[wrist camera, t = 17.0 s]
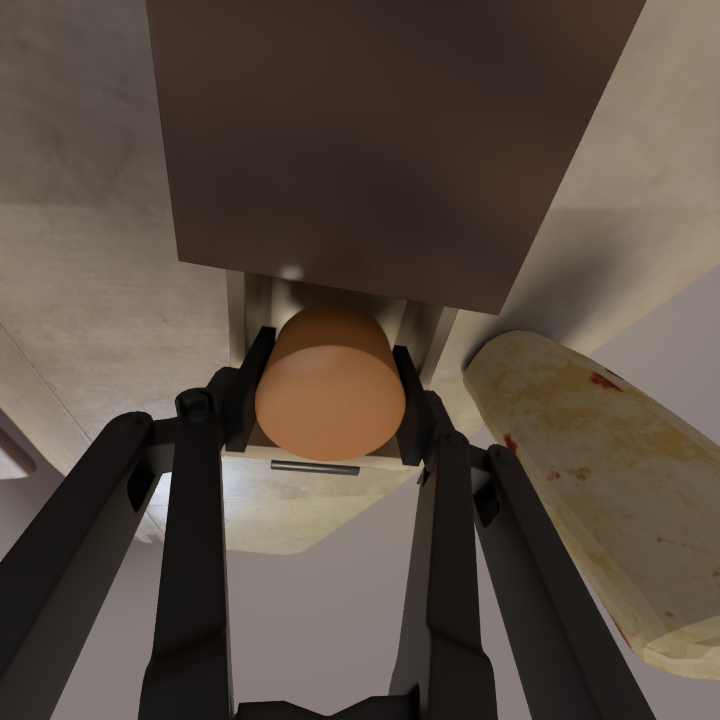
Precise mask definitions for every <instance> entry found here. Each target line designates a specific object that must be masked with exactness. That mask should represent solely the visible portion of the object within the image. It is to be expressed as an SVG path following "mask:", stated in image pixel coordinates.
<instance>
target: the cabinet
mask: <svg viewBox="0 0 720 720" xmlns="http://www.w3.org/2000/svg"><path fill="white" fill-rule="evenodd" d="M145 1H146V9H147V16H148V24H149V32H150V40H151V48H152V56H153V63H154V71H155V79H156V87H157V95H158V102H159V110H160V118H161V126H162V134H163V141H164V149H165V157H166V165H167V173H168V181H169V188H170V196H171V204H172V212H173V220H174V227H175V235H176V243H177V251H178V259H179V261H181V262H187V263H193V264H198V265H204V266H210V267H216V268H222V269H228V270H234V271H240V272H245V273H251V274H257V275H263V276H269V277H275V278H281V279H287V280H293V281H298V282H304V283H310V284H316V285H322V286H328V287H334V288H340V289H345V290H351V291H357V292H363V293H369V294H375V295H381V296H387V297H393V298H398V299H404V300H410V301H416V302H422V303H428V304H434V305H440V306H446V307H451V308H457V309H463V310H469V311H475V312H481V313H487V314H493V315H499V313H500V311H501V309H502V307H503V305H504V303H505V301H506V298H507V296H508V294H509V292H510V290H511V288H512V286H513V284H514V281H515V279H516V277H517V275H518V273H519V271H520V269H521V266H522V264H523V262H524V260H525V258H526V256H527V254H528V252H529V249H530V247H531V245H532V243H533V241H534V239H535V237H536V235H537V232H538V230H539V228H540V226H541V224H542V222H543V220H544V217H545V215H546V213H547V211H548V209H549V207H550V205H551V203H552V200H553V198H554V196H555V194H556V192H557V190H558V188H559V186H560V183H561V181H562V179H563V177H564V175H565V173H566V171H567V169H568V166H569V164H570V162H571V160H572V158H573V156H574V154H575V151H576V149H577V147H578V145H579V143H580V141H581V139H582V137H583V134H584V132H585V130H586V128H587V126H588V124H589V122H590V120H591V117H592V115H593V113H594V111H595V109H596V107H597V105H598V102H599V100H600V98H601V96H602V94H603V92H604V90H605V88H606V85H607V83H608V81H609V79H610V77H611V75H612V73H613V71H614V68H615V66H616V64H617V62H618V60H619V58H620V56H621V54H622V51H623V49H624V47H625V45H626V43H627V41H628V39H629V36H630V34H631V32H632V30H633V28H634V26H635V24H636V22H637V19H638V17H639V15H640V13H641V11H642V9H643V7H644V5H645V2H646V0H145Z"/></svg>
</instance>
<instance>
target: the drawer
mask: <svg viewBox="0 0 720 720" xmlns="http://www.w3.org/2000/svg"><path fill="white" fill-rule="evenodd" d="M226 272H227V294H228V315H229V337H230V358H231V367H233V368H240V366H241V364H242V363H243V361H244V359H245V357H246V355H247V353H248V351H249V350H250V348H251V346H252V344H253V342H254V340H255V338H256V337H257V335H258V333H259V331H260V329H261V327H262V326H267V327H274V328H276V339H277V337H278V335H279V332H280V330H281V329H282V327H283V326H284V324H285V323H286V322H287V321H288V320H289V319H290V318H291V317H292V316H294V315H295V314H296V313H298V312H299V311H301V310H303V309H305V308H307V307H310V306H313V305H317V304H322V303H342V304H346V305H351V306H353V307H356V308H359V309H361V310H363V311H364V312H366V313H368V314H369V315H370V316H372V317H373V318H374V319H375V320H376V321H377V322H378V323H379V324H380V326H381V327H382V328H383V330H384V332H385V334H386V336H387V338H388V341H389V344H390V348H391V351H393V348H394V345H400V346H406V347H407V349H408V352H409V354H410V356H411V359H412V361H413V364H414V366H415V369H416V371H417V374H418V376H419V379H420V381H421V384H422V386H423V388H424V390H427V389H428V387H429V384H430V382H431V379H432V376H433V374H434V371H435V369H436V366H437V364H438V361H439V358H440V356H441V353H442V351H443V348H444V346H445V343H446V340H447V338H448V335H449V333H450V330H451V328H452V325H453V322H454V320H455V317H456V315H457V312H458V310H459V309H457V308H451V307H446V306H440V305H434V304H428V303H422V302H416V301H410V300H404V299H398V298H393V297H387V296H381V295H375V294H369V293H363V292H357V291H351V290H345V289H340V288H334V287H328V286H322V285H316V284H310V283H304V282H298V281H293V280H287V279H281V278H275V277H269V276H263V275H257V274H251V273H245V272H240V271H234V270H228V269H226ZM275 342H276V341H275ZM221 456H231V457H244V458H257V459H269V460H272V461H271V469H274V470H287V471H301V472H314V473H328V474H341V475H354V476H357V475H358V474H359V470H360V467H370V468H383V469H396V470H409V468H410V466H406V465H403V464H402V460H401V455H400V451H399V446H398V442H397V437H396V433H395V434H394V435H393V436H392V437H391V438H390V439H389V440H388V441H387V442H386V443H385V444H383V445H382V446H381V447H379V448H378V449H376V450H374V451H372V452H370V453H368V454H366V455H364V456H361V457H358V458H354V459H350V460H344V461H333V462H328V461H316V460H310V459H306V458H302V457H299V456H296V455H294V454H292V453H289V452H287V451H286V450H284V449H282V448H281V447H279V446H278V445H276V444H275V443H274V442H273V441H272V440H271V439H270V438H269V437H268V436H267V435H266V434H265V433H264V431H263V430H262V428H261V427H260V425H259V422H258V420H257V418H256V421H255V424H254V427H253V430H252V432H251V435H250V438H249V441H248V444H247V447H246V449H245V452H244V453H240V452H227V451H225V444H224V446H223V448H222V450H221Z"/></svg>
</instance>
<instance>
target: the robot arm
mask: <svg viewBox="0 0 720 720" xmlns="http://www.w3.org/2000/svg"><path fill="white" fill-rule="evenodd" d="M275 341H276V328H274V327H267V326H262V327H261V329H260V331H259V333H258V335H257V337H256V338H255V340H254V342H253V344H252V346H251V348H250V350H249V351H248V353H247V355H246V357H245V359H244V361H243V363H242V364H241V366H240V368H233V367H223V368H221V369H220V370H218V371H217V372H215V374H214V376H213V377H212V379H211V380H210V382H209V383H208V386H206V388H192V389H188V390H186V391H183V392H181V393H180V394H179V395H178V396H177V397H176V399H175V405H176V411H177V416H178V417H174V418H169V419H161V420H153V419H152V417H151V415H149V414H148V413H146V412H140V411H136V412H128V413H125V414H121V415H119V416H117V417H115V418H113V419H112V420H111V421H110V422H109V423H108V424H107V425H106V426H105V427H104V429H103V430H102V431H101V433H100V434H99V435H98V436H97V438H96V439H95V440H94V442H93V443H92V444H91V446H90V447H89V448H88V449H87V451H86V452H85V453H84V455H83V456H82V457H81V458H80V460H79V461H78V462H77V464H76V465H75V466H74V468H73V469H72V470H71V471H70V473H69V474H68V475H67V477H66V478H65V479H64V481H63V482H62V483H61V485H60V486H59V487H58V488H57V490H56V491H55V492H54V494H53V495H52V496H51V498H50V499H49V500H48V501H47V503H46V504H45V505H44V507H43V508H42V509H41V510H40V512H39V513H38V514H37V516H36V517H35V518H34V519H33V521H32V522H31V523H30V525H29V526H28V527H27V528H26V530H25V531H24V532H23V534H22V535H21V536H20V538H19V539H18V540H17V541H16V543H15V544H14V545H13V547H12V548H11V549H10V551H9V552H8V553H7V554H6V556H5V557H4V558H3V560H2V561H1V562H0V720H50V718H51V715H52V713H53V711H54V709H55V707H56V705H57V703H58V700H59V698H60V696H61V694H62V691H63V689H64V687H65V685H66V683H67V681H68V678H69V676H70V674H71V672H72V670H73V668H74V666H75V663H76V661H77V659H78V657H79V655H80V652H81V650H82V648H83V646H84V643H85V642H86V639H87V637H88V635H89V633H90V631H91V628H92V626H93V624H94V622H95V620H96V617H97V615H98V613H99V611H100V609H101V607H102V604H103V602H104V600H105V598H106V596H107V593H108V591H109V589H110V587H111V585H112V583H113V580H114V578H115V576H116V574H117V572H118V569H119V567H120V565H121V563H122V561H123V559H124V557H125V554H126V552H127V550H128V548H129V545H130V543H131V541H132V539H133V537H134V535H135V533H136V530H137V528H138V526H139V524H140V522H141V519H142V517H143V515H144V513H145V511H146V509H147V506H148V504H149V502H150V500H151V498H152V495H153V493H154V491H155V489H156V487H157V485H158V482H159V480H160V478H161V476H162V474H163V473H168V472H172V476H171V485H170V495H169V504H168V513H167V522H166V531H165V541H164V551H163V559H162V568H161V577H160V587H159V596H158V605H157V614H156V624H155V633H154V642H153V650H152V655H151V659H150V662H149V664H148V666H147V668H146V671H145V675H144V679H143V684H142V691H141V697H140V706H139V714H138V720H498V715H497V702H496V691H495V680H494V673H493V668H492V665H491V662H490V659H489V658H488V656H487V655H486V654H485V653H484V652H483V649H482V645H481V634H480V617H479V598H478V581H477V564H476V547H475V529H474V522H475V526H476V529H477V533H478V536H479V540H480V543H481V546H482V550H483V553H484V557H485V560H486V564H487V567H488V570H489V574H490V577H491V581H492V584H493V587H494V591H495V594H496V598H497V601H498V605H499V608H500V611H501V615H502V618H503V622H504V625H505V629H506V632H507V635H508V639H509V642H510V646H511V649H512V652H513V656H514V659H515V662H516V666H517V670H518V673H519V676H520V680H521V683H522V687H523V690H524V694H525V697H526V700H527V704H528V707H529V711H530V714H531V717H532V720H656V718H655V716H654V714H653V712H652V711H651V709H650V707H649V705H648V703H647V701H646V699H645V697H644V695H643V694H642V692H641V690H640V688H639V686H638V684H637V682H636V680H635V678H634V676H633V675H632V673H631V671H630V669H629V667H628V665H627V664H626V662H625V659H624V658H623V656H622V654H621V652H620V650H619V648H618V646H617V644H616V642H615V640H614V639H613V637H612V635H611V633H610V631H609V629H608V627H607V625H606V623H605V621H604V620H603V618H602V616H601V614H600V612H599V610H598V609H597V606H596V604H595V603H594V601H593V599H592V597H591V595H590V593H589V591H588V589H587V587H586V585H585V584H584V582H583V580H582V578H581V576H580V574H579V572H578V570H577V568H576V567H575V565H574V563H573V561H572V559H571V557H570V555H569V553H568V551H567V549H566V547H565V546H564V544H563V542H562V540H561V538H560V536H559V534H558V532H557V530H556V529H555V527H554V525H553V523H552V521H551V519H550V517H549V515H548V513H547V511H546V510H545V508H544V506H543V504H542V502H541V500H540V498H539V496H538V494H537V492H536V491H535V489H534V487H533V485H532V483H531V481H530V479H529V477H528V475H527V474H526V472H525V470H524V468H523V466H522V464H521V462H520V460H519V459H518V457H517V456H516V454H515V453H513V452H512V451H511V450H510V449H508V448H506V447H505V446H502V445H499V444H493V445H491V446H489V448H488V450H484V449H481V448H478V447H476V446H473V445H470V444H469V441H468V439H467V438H466V437H465V436H464V435H463V434H462V433H460V432H459V431H457V430H455V428H454V426H453V424H452V422H451V420H450V418H449V416H448V413H447V412H446V409H445V407H444V406H443V403H442V401H441V398H440V397H439V396H438V395H437V394H436V393H435V392H434V391H429V390H424V388H423V386H422V384H421V381H420V379H419V376H418V374H417V371H416V369H415V366H414V364H413V361H412V359H411V356H410V354H409V352H408V349H407V347H406V346H400V345H394V348H393V351H392V354H393V357H394V360H395V363H396V366H397V370H398V373H399V376H400V379H401V382H402V385H403V388H404V393H405V399H406V407H405V413H404V416H403V418H402V421H401V424H400V426H399V428H398V429H397V431H396V432H395V433H396V437H397V442H398V446H399V451H400V455H401V460H402V464H403V465H406V466H419V464H420V462H421V460H422V459H423V462H424V465H425V466H424V468H423V471H422V473H421V475H420V478H419V479H418V482H417V484H419V483H420V489H419V497H418V504H417V512H416V519H415V527H414V535H413V543H412V550H411V558H410V566H409V574H408V581H407V589H406V597H405V604H404V611H403V620H402V627H401V634H400V643H399V650H398V656H397V661H396V664H395V668H394V671H393V674H392V679H391V683H390V688H389V694H388V696H372V697H369V698H367V699H365V700H363V701H361V702H359V703H357V704H354V705H352V706H350V707H348V708H346V709H344V710H342V711H340V712H338V713H336V714H334V715H331V716H324V715H321V714H318V713H315V712H313V711H310V710H308V709H305V708H302V707H299V706H297V705H294V704H291V703H289V702H286V701H269V702H268V701H267V702H246V703H239V706H238V711H237V713H236V714H234V700H233V681H232V666H231V648H230V627H229V605H228V586H227V564H226V543H225V523H224V502H223V481H222V461H221V450H222V448H223V446H224V444H225V451H227V452H240V453H244V452H245V449H246V447H247V444H248V441H249V438H250V435H251V432H252V430H253V427H254V424H255V421H256V418H257V417H256V414H255V392H256V388H257V385H258V383H259V381H260V378H261V376H262V373H263V371H264V368H265V366H266V364H267V361H268V359H269V356H270V354H271V351H272V349H273V347H274V344H275Z"/></svg>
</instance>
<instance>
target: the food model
mask: <svg viewBox="0 0 720 720" xmlns="http://www.w3.org/2000/svg"><path fill="white" fill-rule="evenodd" d="M463 383H464V386H465V388H466V390H467V391H468V392H469V394H470V395H471V397H472V399H473V400H474V402H475V404H476V406H477V408H478V410H479V412H480V415H481V417H482V419H483V421H484V423H485V425H486V426H487V428H488V429H489V431H490V433H491V435H492V436H493V438H494V439H495V441H496V442H497V443H498V444H499V445H502V446H505V447H506V448H508V449H510V450H511V451H512V452H513V453H515V454H516V456H517V457H518V459H519V460H520V462H521V464H522V466H523V468H524V470H525V472H526V474H527V475H528V477H529V479H530V481H531V483H532V485H533V487H534V489H535V491H536V492H537V494H538V496H539V498H540V500H541V502H542V504H543V506H544V508H545V510H546V511H547V513H548V515H549V517H550V519H551V521H552V523H553V525H554V527H555V529H556V530H557V532H558V534H559V536H560V538H561V540H562V542H563V544H564V546H565V547H566V549H567V551H568V553H569V555H570V557H571V558H572V559H573V560H574V562H575V563H576V565H577V566H578V568H579V569H580V570H581V572H582V573H583V575H584V576H585V578H586V579H587V580H588V582H589V583H590V585H591V586H592V587H593V589H594V590H595V592H596V594H597V595H598V597H599V598H600V600H601V602H602V603H603V605H604V606H605V608H606V610H607V611H608V613H609V615H610V616H611V618H612V620H613V621H614V623H615V625H616V626H617V628H618V630H619V632H620V633H621V635H622V637H623V638H624V640H625V641H626V643H627V644H628V646H629V647H630V649H631V650H632V652H633V653H635V654H636V655H637V656H638V657H639V658H641V659H642V660H643V661H644V662H646V663H648V664H650V665H652V666H654V667H656V668H659V669H662V670H664V671H667V672H670V673H673V674H678V675H681V676H685V677H688V678H693V679H713V680H720V446H718V445H717V444H716V443H714V442H713V441H712V440H710V439H709V438H707V437H706V436H705V435H703V434H702V433H701V432H699V431H698V430H697V429H695V428H694V427H692V426H691V425H690V424H688V423H686V422H685V421H684V420H683V419H681V418H680V417H678V416H677V415H675V414H674V413H673V412H671V411H670V410H668V409H667V408H665V407H664V406H662V405H661V404H660V403H658V402H657V401H655V400H654V399H652V398H651V397H649V396H648V395H646V394H645V393H643V392H642V391H640V390H639V389H637V388H636V387H634V386H633V385H631V384H630V383H628V382H627V381H625V380H624V379H622V378H621V377H619V376H617V375H616V374H614V373H613V372H611V371H610V370H608V369H607V368H605V367H603V366H602V365H600V364H598V363H597V362H595V361H594V360H592V359H590V358H588V357H586V356H584V355H582V354H580V353H578V352H576V351H574V350H572V349H569V348H567V347H565V346H562V345H560V344H557V343H555V342H554V341H552V340H550V339H548V338H546V337H544V336H542V335H540V334H538V333H536V332H531V331H521V330H514V331H511V332H507V333H504V334H501V335H498V336H497V337H495V338H494V339H492V340H490V341H489V342H487V343H486V344H485V345H484V346H483V348H482V349H481V350H480V351H479V352H478V353H477V355H476V356H475V357H474V359H473V360H472V362H471V363H470V364H469V366H468V368H467V369H466V371H465V372H464V376H463Z"/></svg>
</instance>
